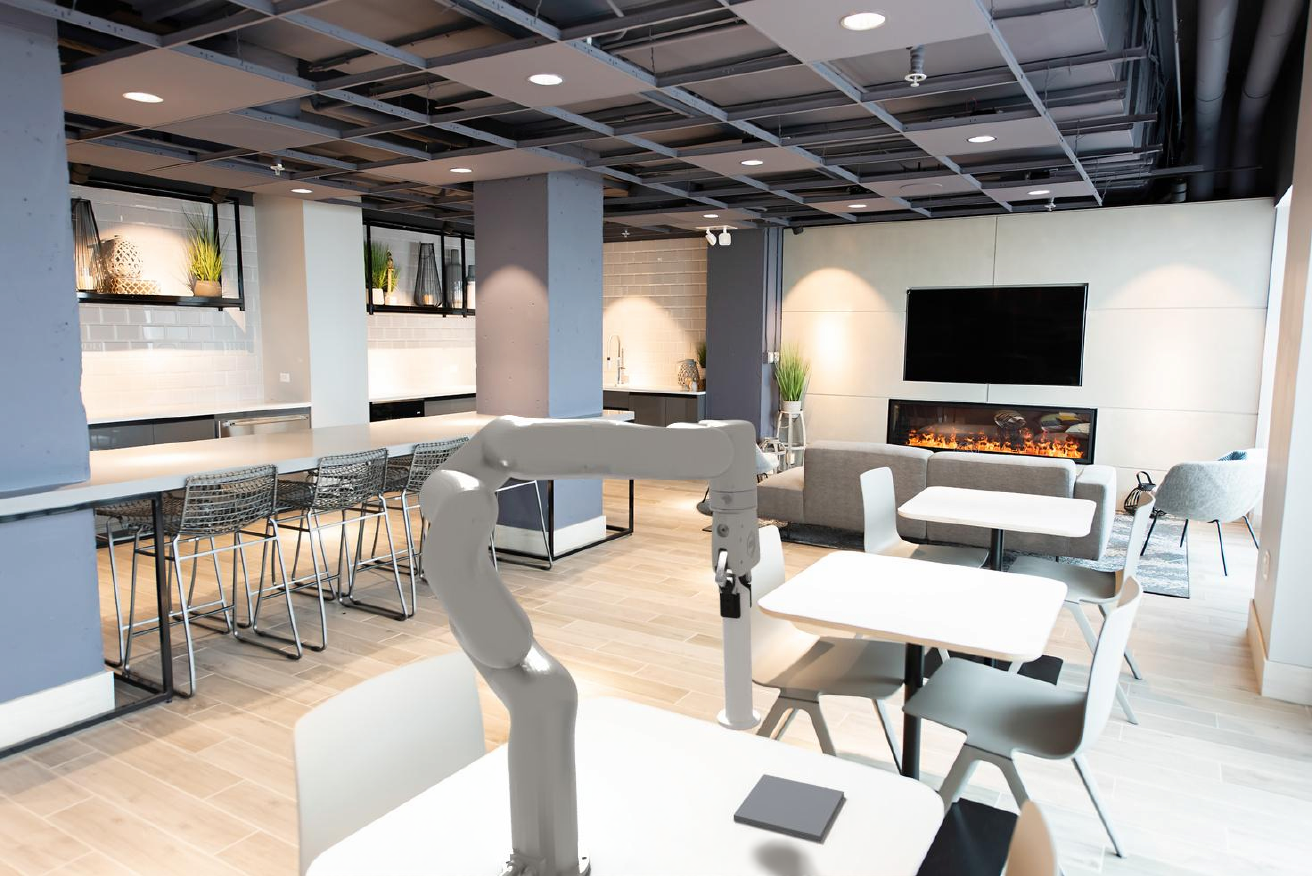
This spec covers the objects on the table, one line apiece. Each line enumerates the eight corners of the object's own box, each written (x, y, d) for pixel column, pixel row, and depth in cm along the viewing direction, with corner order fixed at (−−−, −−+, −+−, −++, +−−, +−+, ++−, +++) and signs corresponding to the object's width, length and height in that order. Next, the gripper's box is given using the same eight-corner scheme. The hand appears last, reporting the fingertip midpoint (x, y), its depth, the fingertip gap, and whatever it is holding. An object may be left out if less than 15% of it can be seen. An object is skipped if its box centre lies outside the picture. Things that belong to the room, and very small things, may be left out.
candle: (759, 731, 134) (755, 577, 131) (714, 729, 135) (710, 576, 132) (762, 711, 141) (758, 564, 138) (719, 710, 142) (715, 564, 139)
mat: (819, 841, 129) (819, 836, 129) (733, 819, 135) (733, 814, 135) (844, 796, 142) (844, 791, 141) (763, 778, 148) (763, 774, 148)
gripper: (736, 511, 125) (740, 632, 127) (773, 490, 140) (775, 599, 142) (689, 508, 128) (693, 626, 130) (729, 488, 143) (732, 594, 145)
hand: (736, 610), depth 136 cm, fingers closed on candle, 4 cm apart
